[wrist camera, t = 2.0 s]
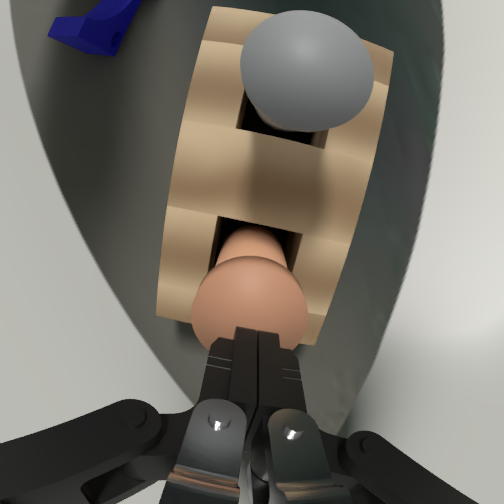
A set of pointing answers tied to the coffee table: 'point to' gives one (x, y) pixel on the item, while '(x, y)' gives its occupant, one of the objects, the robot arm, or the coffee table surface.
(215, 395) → the robot arm
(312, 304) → the oak board
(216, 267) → the terracotta plunger
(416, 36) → the coffee table surface
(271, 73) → the grey plunger
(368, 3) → the coffee table surface
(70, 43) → the cable clip
